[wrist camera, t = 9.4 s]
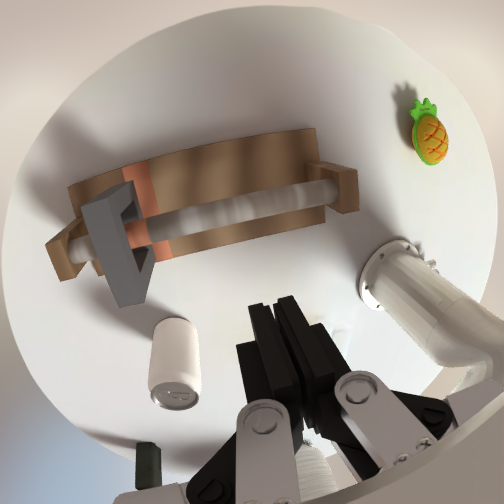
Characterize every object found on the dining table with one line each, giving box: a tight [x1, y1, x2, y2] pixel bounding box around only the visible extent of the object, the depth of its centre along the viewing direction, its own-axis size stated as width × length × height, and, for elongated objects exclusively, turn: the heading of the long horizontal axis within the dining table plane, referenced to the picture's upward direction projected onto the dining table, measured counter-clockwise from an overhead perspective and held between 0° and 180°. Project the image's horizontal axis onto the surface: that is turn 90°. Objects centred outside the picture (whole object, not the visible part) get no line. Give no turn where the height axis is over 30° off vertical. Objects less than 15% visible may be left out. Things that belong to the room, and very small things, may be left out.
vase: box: [295, 444, 340, 503], centre depth 47 cm, size 20×20×34 cm
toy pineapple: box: [410, 98, 448, 165], centre depth 31 cm, size 7×10×5 cm
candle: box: [135, 442, 162, 490], centre depth 39 cm, size 5×5×25 cm
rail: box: [45, 128, 359, 282], centre depth 27 cm, size 30×12×10 cm, turn 100°
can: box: [148, 318, 201, 411], centre depth 33 cm, size 6×6×12 cm
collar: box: [80, 180, 156, 308], centre depth 23 cm, size 2×9×9 cm, turn 10°
